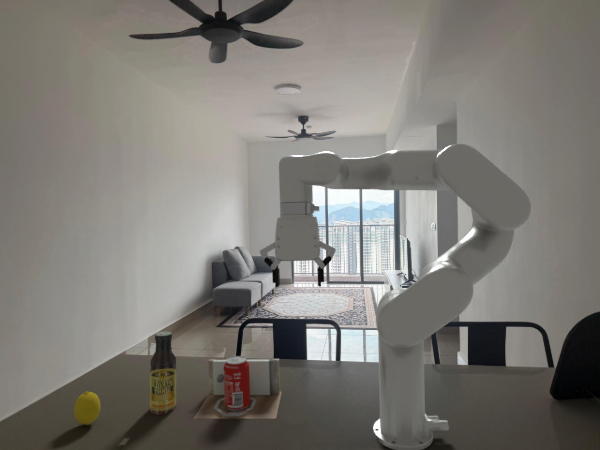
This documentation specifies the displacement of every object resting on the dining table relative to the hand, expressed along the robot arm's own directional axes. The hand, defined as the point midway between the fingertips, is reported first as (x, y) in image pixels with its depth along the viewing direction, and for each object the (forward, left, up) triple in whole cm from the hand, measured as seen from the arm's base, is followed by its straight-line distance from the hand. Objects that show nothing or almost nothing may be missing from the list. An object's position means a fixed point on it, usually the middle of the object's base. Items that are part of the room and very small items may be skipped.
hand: (298, 285), depth 89 cm
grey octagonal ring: (+17, -6, -31) cm, 36 cm away
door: (+16, -12, -31) cm, 37 cm away
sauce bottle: (+35, -6, -32) cm, 48 cm away
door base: (+16, -8, -32) cm, 37 cm away
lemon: (+51, 0, -32) cm, 60 cm away
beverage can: (+16, -6, -32) cm, 36 cm away
